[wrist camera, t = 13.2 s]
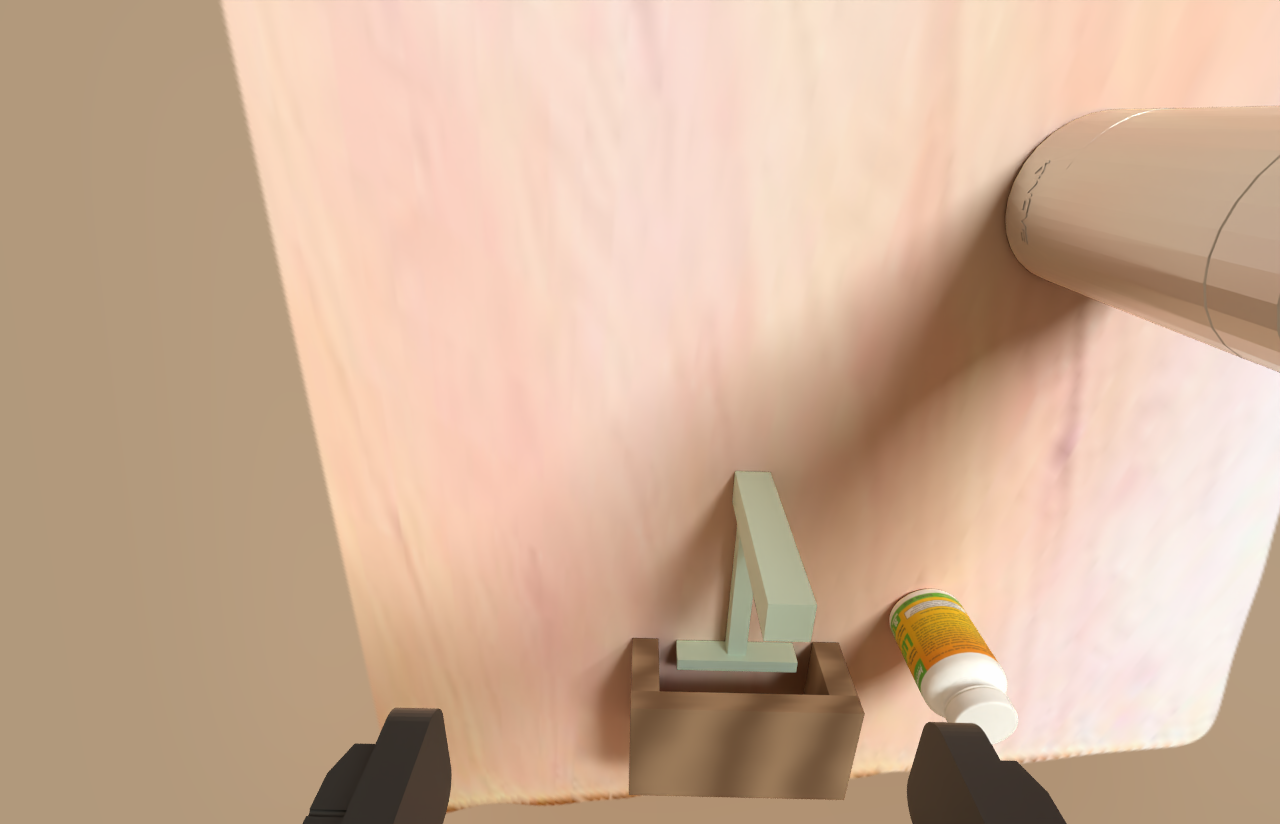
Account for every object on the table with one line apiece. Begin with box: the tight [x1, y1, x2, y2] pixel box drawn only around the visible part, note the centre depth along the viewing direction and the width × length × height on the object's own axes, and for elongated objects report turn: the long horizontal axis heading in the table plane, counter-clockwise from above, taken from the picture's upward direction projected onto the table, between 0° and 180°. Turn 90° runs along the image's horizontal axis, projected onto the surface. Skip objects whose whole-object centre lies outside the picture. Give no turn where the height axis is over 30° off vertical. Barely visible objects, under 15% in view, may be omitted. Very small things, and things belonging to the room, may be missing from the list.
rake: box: [676, 471, 817, 672], centre depth 40 cm, size 9×16×13 cm, turn 179°
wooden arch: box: [629, 638, 864, 800], centre depth 48 cm, size 16×9×6 cm, turn 89°
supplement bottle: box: [889, 589, 1018, 745], centre depth 44 cm, size 5×5×10 cm
